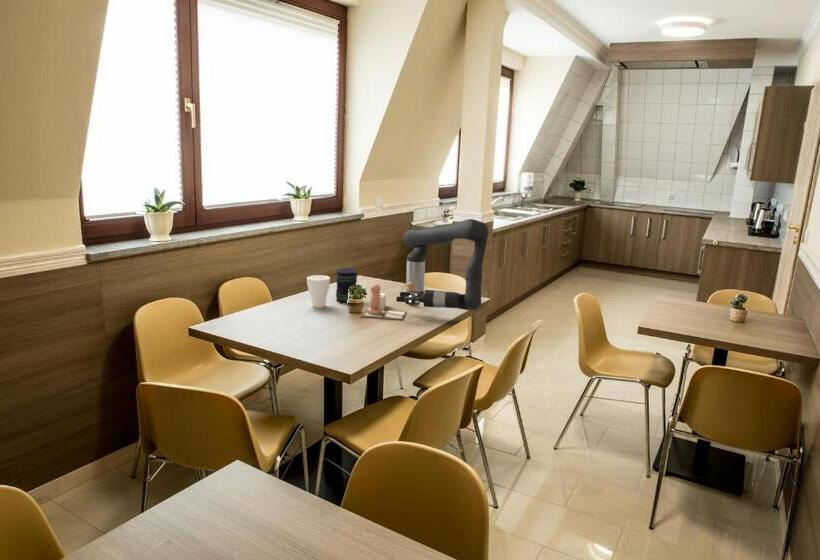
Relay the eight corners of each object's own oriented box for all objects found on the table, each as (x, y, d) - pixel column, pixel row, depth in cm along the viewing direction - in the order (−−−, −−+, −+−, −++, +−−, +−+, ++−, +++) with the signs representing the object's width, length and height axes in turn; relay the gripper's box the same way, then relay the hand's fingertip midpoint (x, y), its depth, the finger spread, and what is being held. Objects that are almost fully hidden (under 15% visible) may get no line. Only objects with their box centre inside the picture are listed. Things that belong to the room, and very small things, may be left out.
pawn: (369, 310, 266) (369, 281, 263) (383, 311, 265) (384, 282, 262) (366, 314, 260) (366, 285, 257) (380, 315, 259) (381, 286, 256)
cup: (322, 310, 267) (322, 281, 264) (302, 307, 270) (302, 278, 267) (334, 304, 276) (334, 276, 273) (314, 302, 280) (314, 274, 277)
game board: (366, 310, 269) (366, 308, 269) (406, 312, 266) (406, 311, 266) (360, 317, 258) (360, 315, 257) (402, 320, 255) (402, 318, 255)
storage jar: (340, 297, 289) (340, 267, 286) (359, 299, 287) (359, 269, 284) (332, 302, 280) (332, 271, 277) (352, 304, 278) (352, 273, 274)
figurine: (419, 304, 281) (420, 279, 279) (418, 307, 276) (418, 282, 273) (402, 303, 283) (403, 278, 280) (400, 306, 277) (401, 281, 274)
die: (373, 305, 278) (373, 292, 276) (385, 306, 277) (386, 293, 275) (370, 308, 272) (370, 295, 270) (383, 309, 271) (383, 296, 270)
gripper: (437, 286, 263) (401, 284, 265) (433, 294, 249) (395, 292, 251) (436, 303, 264) (400, 300, 267) (432, 311, 251) (395, 309, 253)
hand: (398, 296), depth 259 cm, fingers open, 8 cm apart
